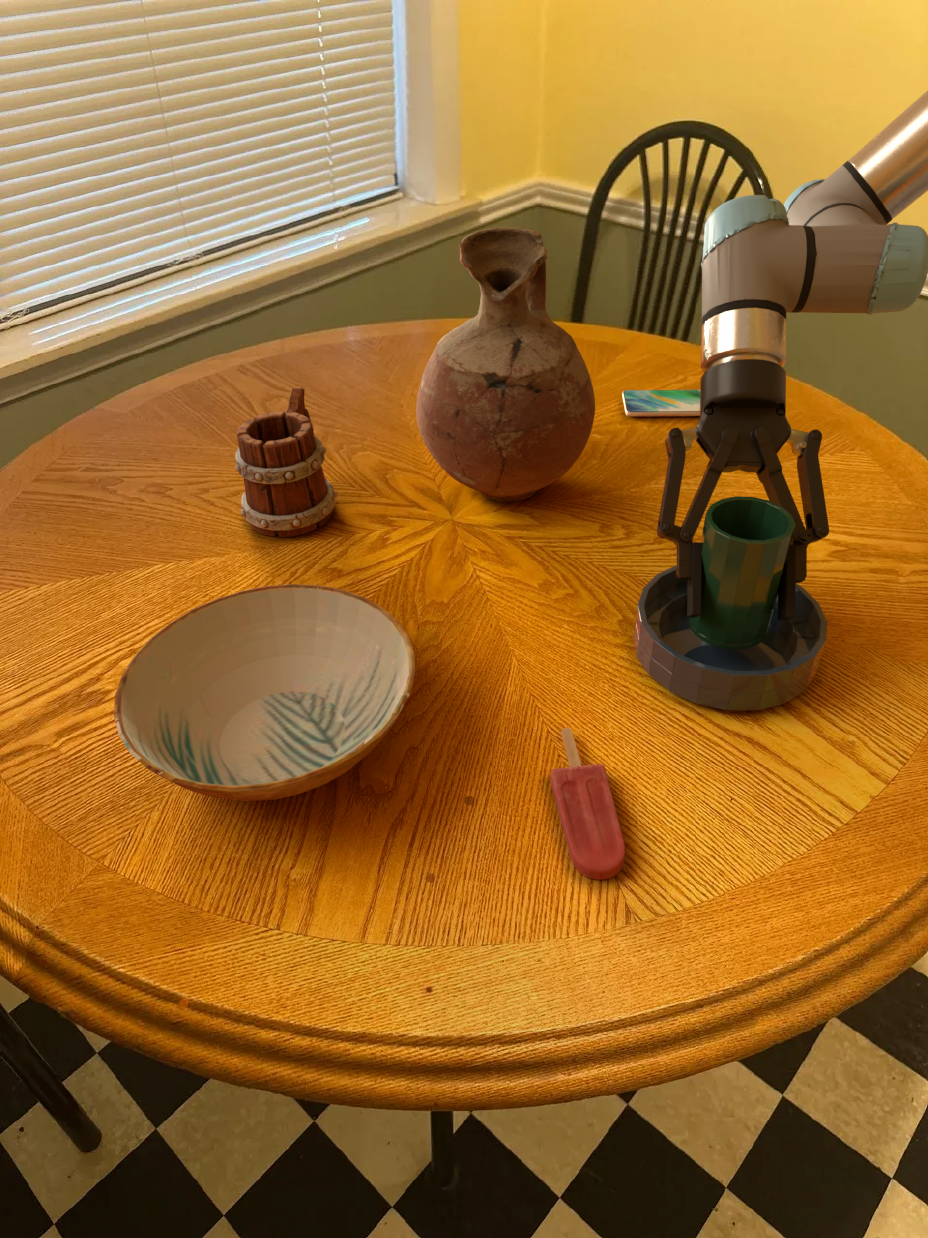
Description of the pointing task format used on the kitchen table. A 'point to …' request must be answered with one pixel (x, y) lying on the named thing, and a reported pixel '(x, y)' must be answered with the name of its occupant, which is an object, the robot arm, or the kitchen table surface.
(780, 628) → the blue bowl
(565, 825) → the popsicle
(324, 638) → the bowl
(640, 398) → the smartphone
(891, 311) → the robot arm
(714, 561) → the green cup
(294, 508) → the mug
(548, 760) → the kitchen table surface
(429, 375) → the jug
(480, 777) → the kitchen table surface
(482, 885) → the kitchen table surface
